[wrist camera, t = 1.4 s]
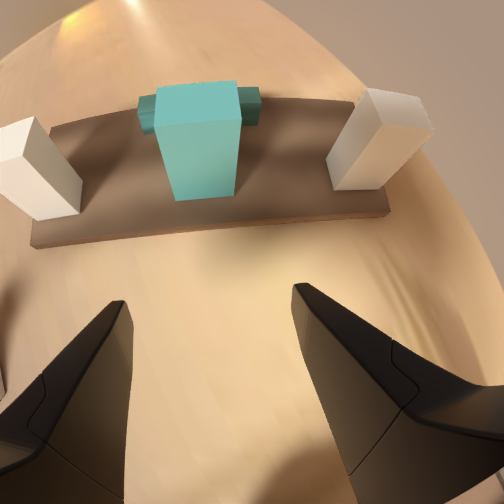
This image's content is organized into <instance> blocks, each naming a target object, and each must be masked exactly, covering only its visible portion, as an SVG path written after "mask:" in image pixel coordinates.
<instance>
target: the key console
mask: <svg viewBox="0 0 504 504" xmlns="http://www.w3.org/2000/svg"><path fill="white" fill-rule="evenodd" d="M237 90H238V97H239V104H240V110H241V117H242V122H241V131H240V140H239V149H238V159H237V169H236V178H235V189H234V196H227V197H215V198H204V199H193V200H183V201H176V200H175V197H174V194H173V191H172V188H171V184H170V181H169V178H168V174H167V171H166V168H165V164H164V161H163V158H162V154H161V151H160V147H159V144H158V140H157V137H156V133H155V130H154V117H155V104H156V94H154V95H148V96H141V97H139V104H138V108H137V109H131V110H125V111H120V112H114V113H109V114H104V115H100V116H95V117H90V118H86V119H82V120H78V121H74V122H70V123H66V124H62V125H58V126H55V127H51V131H50V134H49V137H50V139H51V140H52V141H53V143H54V144H55V145H56V147H57V148H58V149H59V151H60V152H61V153H62V155H63V156H64V157H65V159H66V160H67V161H68V163H69V164H70V165H71V167H72V168H73V169H74V170H75V172H76V173H77V174H78V176H79V177H80V178H81V179H82V181H83V184H82V193H81V202H80V213H79V214H76V215H70V216H63V217H57V218H52V219H46V220H40V221H37V220H35V219H34V218H33V221H32V230H31V240H30V246H32V247H33V248H35V249H44V248H52V247H59V246H67V245H75V244H83V243H91V242H99V241H108V240H117V239H125V238H134V237H143V236H153V235H162V234H172V233H182V232H192V231H202V230H213V229H223V228H235V227H246V226H258V225H270V224H282V223H295V222H308V221H322V220H337V219H352V218H368V217H384V216H386V215H387V214H388V213H389V212H391V211H390V208H389V204H388V200H387V197H386V194H385V190H384V187H383V186H382V187H381V188H380V189H375V190H334V189H333V185H332V181H331V178H330V174H329V170H328V166H327V162H326V158H327V156H328V154H329V153H330V151H331V149H332V147H333V146H334V144H335V142H336V140H337V139H338V137H339V135H340V133H341V132H342V130H343V128H344V126H345V125H346V123H347V121H348V119H349V117H350V116H351V114H352V112H353V110H354V109H355V106H354V103H353V102H347V101H336V100H321V99H301V98H261V97H260V92H259V88H258V87H237Z"/></svg>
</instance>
